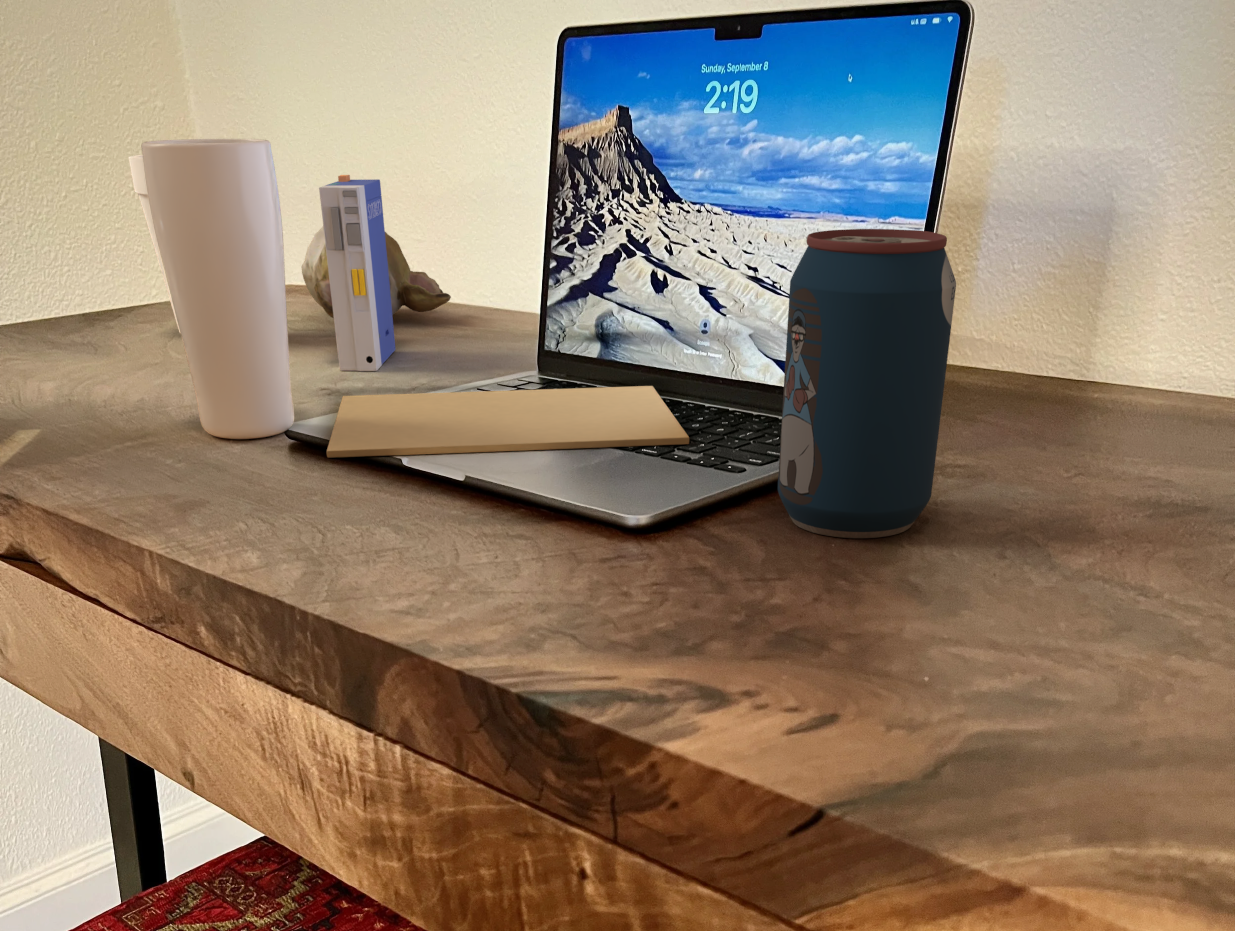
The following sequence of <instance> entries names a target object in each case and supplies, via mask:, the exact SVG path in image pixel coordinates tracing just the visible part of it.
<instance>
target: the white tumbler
mask: <svg viewBox="0 0 1235 931" xmlns="http://www.w3.org/2000/svg"><path fill="white" fill-rule="evenodd" d="M140 148H141V155H143V164H144V172H145V179H146V186H147V193H148V198H149V204H150V210H151V215H152V220H153V225H154V229H155V234H156V238H157V242H158V247H159V251H160V255H161V259H162V263H163V266H164V270H165V274H166V278H167V282H168V286H169V290H170V294H171V298H172V301H173V305H174V309H175V313H176V317H177V321H178V325H179V329H180V333H179V334H180V337H181V341H182V344H183V348H184V352H185V355H186V360H187V364H188V365H187V366H188V368H189V372H190V377H191V380H192V385H193V389H194V393H195V399H196V405H197V410H198V416H199V421H200V424H201V427H202V429H203V431H205V432H206V433H207V434H209V435H210V436H213V437H217V438H221V439H228V440H249V439H251V440H252V439H261V438H266V437H271V436H277V435H279V434H283V433H284V432H286V431H288V430H289V429H291V428H292V426H293V425H294V423H295V409H294V402H293V394H292V383H291V368H290V348H289V333H288V331H289V330H288V310H287V309H288V308H287V291H286V290H287V288H286V267H285V248H284V232H283V231H284V230H283V220H282V210H281V202H280V194H279V188H278V187H279V186H278V180H277V179H278V178H277V173H276V168H275V162H274V156H273V150H272V144H271V141H270V140H269V139H264V138H185V139H184V138H183V139H161V140H147V141H142V143H141V144H140ZM179 329H178V330H179Z"/></svg>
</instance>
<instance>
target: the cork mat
mask: <svg viewBox="0 0 1235 931" xmlns="http://www.w3.org/2000/svg"><path fill="white" fill-rule="evenodd" d="M679 445H690V437H689V435H688V434H687V432H686V431H685V429H684V428H683V427H682V426H681V424H680V422H679V421H678V420H677V418H676V417H675V416H674V414H673V412H671V410H670V408H669V407H668V406H667V404H666V403H665V402H664V400H663V398H662V397H661V396H660V394H659V393H658V391H657V390H656V389H655V387H654V386H653V385H638V386H637V385H635V386H633V385H632V386H605V387H604V386H603V387H575V388H547V389H546V388H545V389H542V388H541V389H515V390H512V389H511V390H484V391H483V390H481V391H455V392H454V391H453V392H450V391H449V392H424V393H423V392H422V393H421V392H420V393H419V392H418V393H395V394H394V393H393V394H392V393H391V394H390V393H389V394H362V395H361V394H360V395H343V396H342V397H341V402H340V405H339V407H338V411H337V415H336V417H335V421H334V424H333V428H332V430H331V435H330V438H329V442H328V445H327V449H326V457H327V459H332V458H336V459H337V458H356V457H357V458H359V457H360V458H361V457H362V458H363V457H384V456H385V457H386V456H388V457H389V456H410V455H412V456H413V455H414V456H416V455H438V454H439V455H442V454H467V453H493V452H517V451H518V452H519V451H546V450H570V449H572V450H573V449H599V448H625V447H650V446H651V447H653V446H679Z"/></svg>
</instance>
